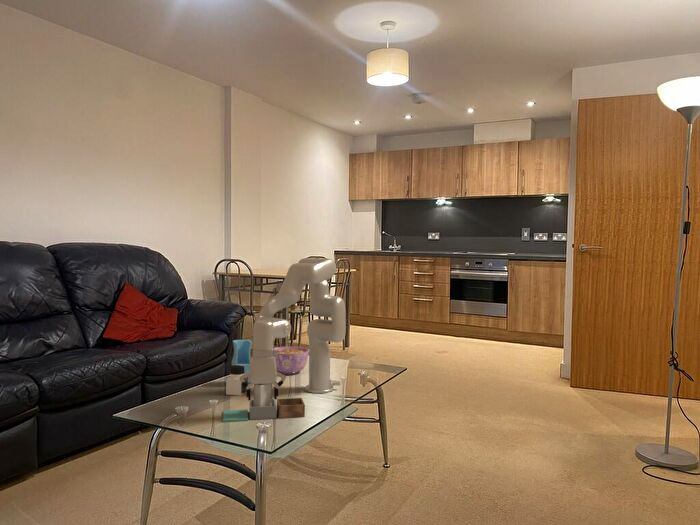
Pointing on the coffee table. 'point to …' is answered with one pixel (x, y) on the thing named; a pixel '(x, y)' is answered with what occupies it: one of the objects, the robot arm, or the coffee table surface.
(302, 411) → the walnut bin
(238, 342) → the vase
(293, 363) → the bowl of food
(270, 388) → the skincare box
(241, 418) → the teal pad
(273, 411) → the grey bin
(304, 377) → the coffee table surface
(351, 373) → the coffee table surface
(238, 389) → the medicine bottle
